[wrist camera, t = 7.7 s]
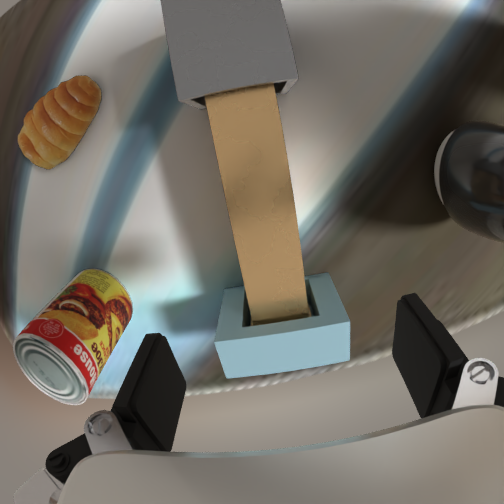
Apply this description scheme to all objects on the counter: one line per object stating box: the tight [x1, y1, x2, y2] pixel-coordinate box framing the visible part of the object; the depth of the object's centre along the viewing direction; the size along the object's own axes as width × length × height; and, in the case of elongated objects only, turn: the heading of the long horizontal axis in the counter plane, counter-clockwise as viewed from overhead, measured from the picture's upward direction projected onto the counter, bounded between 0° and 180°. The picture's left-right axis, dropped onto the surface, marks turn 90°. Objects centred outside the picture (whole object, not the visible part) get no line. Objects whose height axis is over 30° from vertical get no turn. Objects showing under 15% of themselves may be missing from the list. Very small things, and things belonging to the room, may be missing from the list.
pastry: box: [18, 76, 102, 169], centre depth 21 cm, size 9×7×4 cm
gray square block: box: [161, 0, 299, 109], centre depth 17 cm, size 7×8×7 cm
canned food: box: [13, 268, 133, 405], centre depth 24 cm, size 8×8×12 cm
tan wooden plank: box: [205, 83, 312, 326], centre depth 22 cm, size 5×20×5 cm, turn 11°
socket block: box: [214, 272, 350, 378], centre depth 25 cm, size 10×4×8 cm, turn 100°
